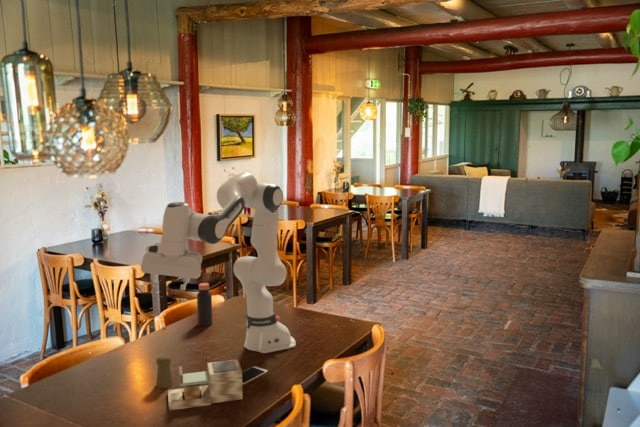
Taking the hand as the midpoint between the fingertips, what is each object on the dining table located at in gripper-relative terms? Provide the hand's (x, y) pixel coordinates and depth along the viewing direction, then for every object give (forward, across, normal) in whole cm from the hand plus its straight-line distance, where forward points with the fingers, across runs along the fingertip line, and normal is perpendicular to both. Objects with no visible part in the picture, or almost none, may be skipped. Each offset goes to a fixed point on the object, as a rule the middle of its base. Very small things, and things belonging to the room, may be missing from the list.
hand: (169, 288), depth 190 cm
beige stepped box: (+38, -16, -3) cm, 41 cm away
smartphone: (+35, -28, -21) cm, 49 cm away
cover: (+31, -14, -2) cm, 34 cm away
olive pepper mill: (+38, +2, -12) cm, 40 cm away
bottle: (+30, +2, -75) cm, 81 cm away
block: (+38, -12, -2) cm, 40 cm away
